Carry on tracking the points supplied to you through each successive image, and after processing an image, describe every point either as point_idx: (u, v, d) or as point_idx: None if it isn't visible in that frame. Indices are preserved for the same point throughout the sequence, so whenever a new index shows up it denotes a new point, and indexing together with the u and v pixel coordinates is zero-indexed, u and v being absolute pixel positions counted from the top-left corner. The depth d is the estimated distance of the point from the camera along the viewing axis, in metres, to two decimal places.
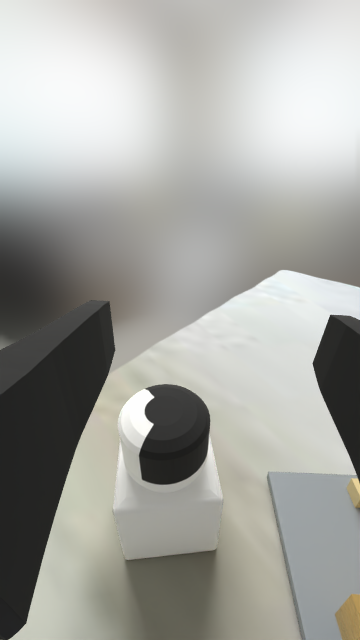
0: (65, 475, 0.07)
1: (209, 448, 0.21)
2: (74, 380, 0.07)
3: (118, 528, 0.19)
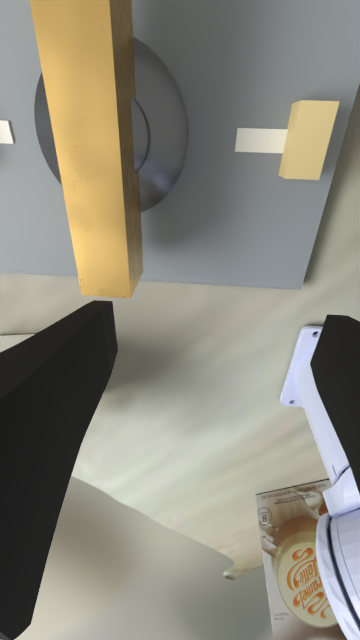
0: (68, 476, 0.07)
1: None
2: (78, 380, 0.07)
3: None
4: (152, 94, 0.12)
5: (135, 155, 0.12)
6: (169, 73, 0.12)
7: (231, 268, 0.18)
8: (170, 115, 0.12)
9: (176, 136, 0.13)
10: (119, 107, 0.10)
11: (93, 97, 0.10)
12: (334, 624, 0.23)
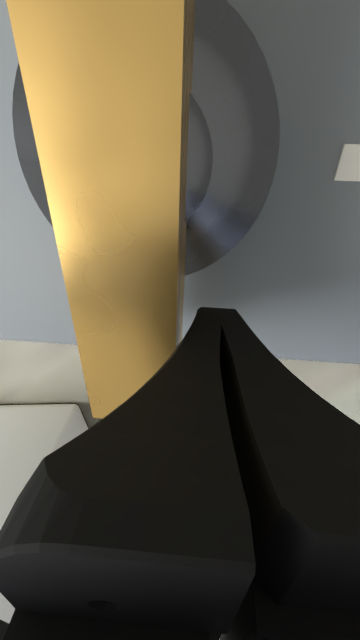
0: None
1: None
2: None
3: None
4: (222, 88, 0.07)
5: (189, 195, 0.07)
6: (257, 49, 0.06)
7: (302, 338, 0.13)
8: (250, 125, 0.07)
9: (256, 161, 0.07)
10: (183, 113, 0.05)
11: (129, 91, 0.04)
12: None
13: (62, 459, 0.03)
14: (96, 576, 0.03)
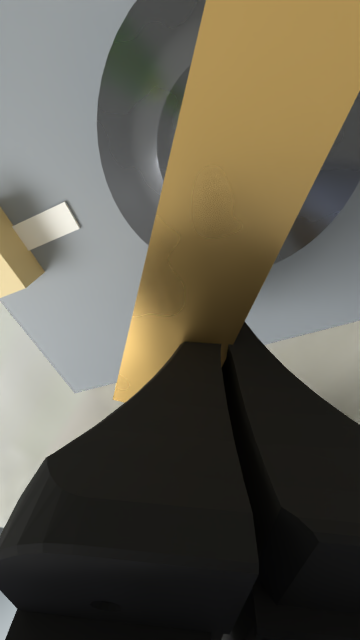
0: None
1: None
2: None
3: None
4: None
5: None
6: None
7: None
8: (344, 145, 0.07)
9: (337, 181, 0.08)
10: (337, 116, 0.05)
11: (307, 77, 0.04)
12: None
13: (65, 460, 0.03)
14: (98, 576, 0.03)
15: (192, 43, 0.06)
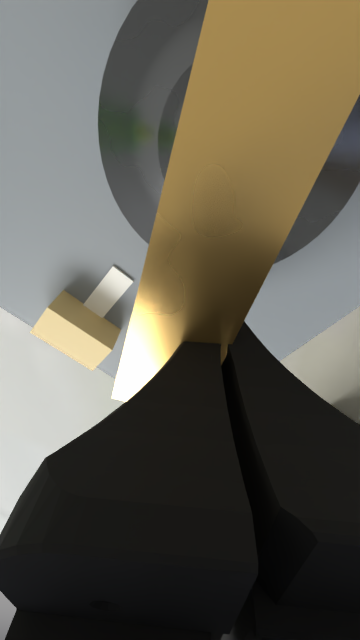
0: None
1: None
2: None
3: None
4: None
5: None
6: None
7: None
8: (345, 145, 0.07)
9: (338, 182, 0.08)
10: (338, 116, 0.05)
11: (308, 77, 0.04)
12: None
13: (65, 460, 0.03)
14: (98, 576, 0.03)
15: (194, 42, 0.06)
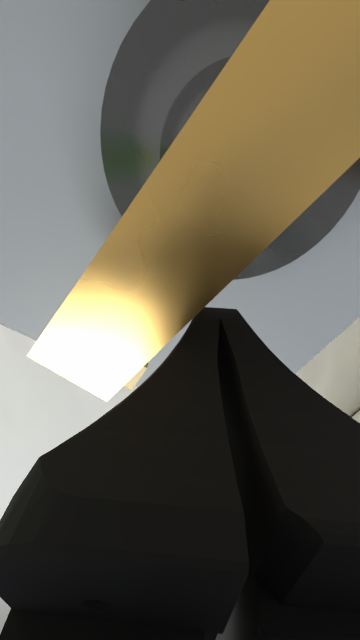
0: None
1: None
2: None
3: None
4: None
5: None
6: None
7: None
8: (324, 201, 0.08)
9: (308, 229, 0.08)
10: (332, 172, 0.05)
11: (322, 125, 0.04)
12: None
13: (59, 459, 0.03)
14: (90, 575, 0.03)
15: (234, 39, 0.06)
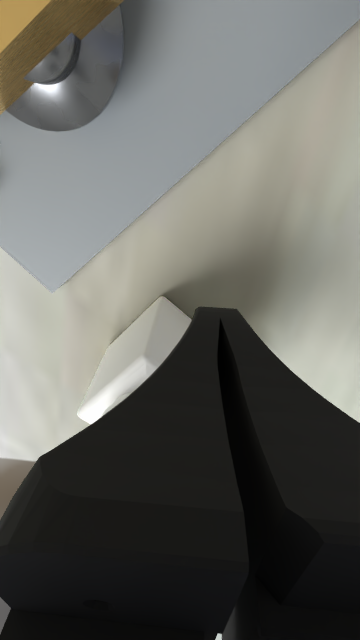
0: None
1: (106, 394, 0.16)
2: None
3: None
4: (95, 57, 0.12)
5: (35, 70, 0.12)
6: (119, 65, 0.12)
7: (257, 73, 0.13)
8: (94, 88, 0.12)
9: (85, 106, 0.13)
10: (38, 24, 0.09)
11: None
12: None
13: (59, 458, 0.03)
14: (90, 575, 0.03)
15: None
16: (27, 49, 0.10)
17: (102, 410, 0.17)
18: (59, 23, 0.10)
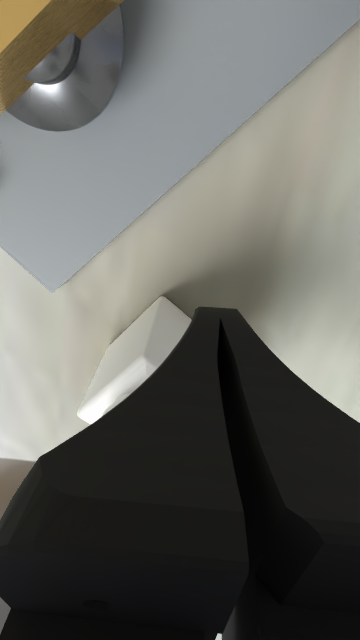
0: None
1: (106, 394, 0.16)
2: None
3: None
4: (95, 57, 0.12)
5: (35, 70, 0.12)
6: (119, 65, 0.12)
7: (257, 73, 0.13)
8: (94, 88, 0.12)
9: (85, 106, 0.13)
10: (38, 24, 0.09)
11: None
12: None
13: (59, 458, 0.03)
14: (90, 575, 0.03)
15: None
16: (27, 49, 0.10)
17: (102, 410, 0.17)
18: (59, 23, 0.10)
